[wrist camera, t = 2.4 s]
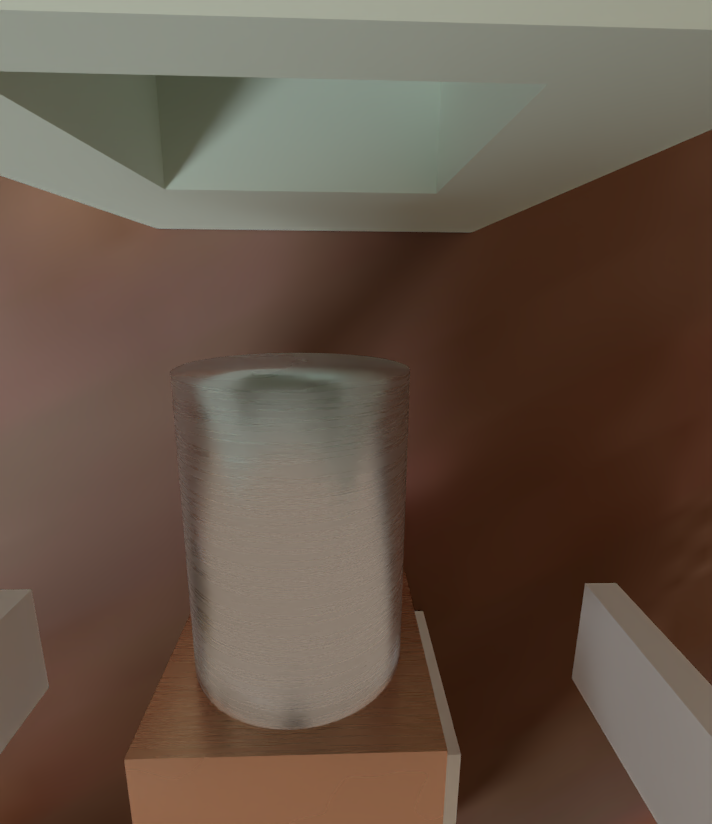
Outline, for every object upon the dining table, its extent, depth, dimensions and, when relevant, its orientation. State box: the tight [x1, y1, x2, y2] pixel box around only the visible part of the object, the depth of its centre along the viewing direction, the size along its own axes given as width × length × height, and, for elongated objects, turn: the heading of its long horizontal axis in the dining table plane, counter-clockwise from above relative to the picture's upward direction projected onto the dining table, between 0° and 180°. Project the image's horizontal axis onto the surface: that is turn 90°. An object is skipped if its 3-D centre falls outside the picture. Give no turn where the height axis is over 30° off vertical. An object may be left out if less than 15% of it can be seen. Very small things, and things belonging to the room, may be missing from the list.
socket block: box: [0, 0, 712, 233], centre depth 9 cm, size 5×10×13 cm, turn 90°
